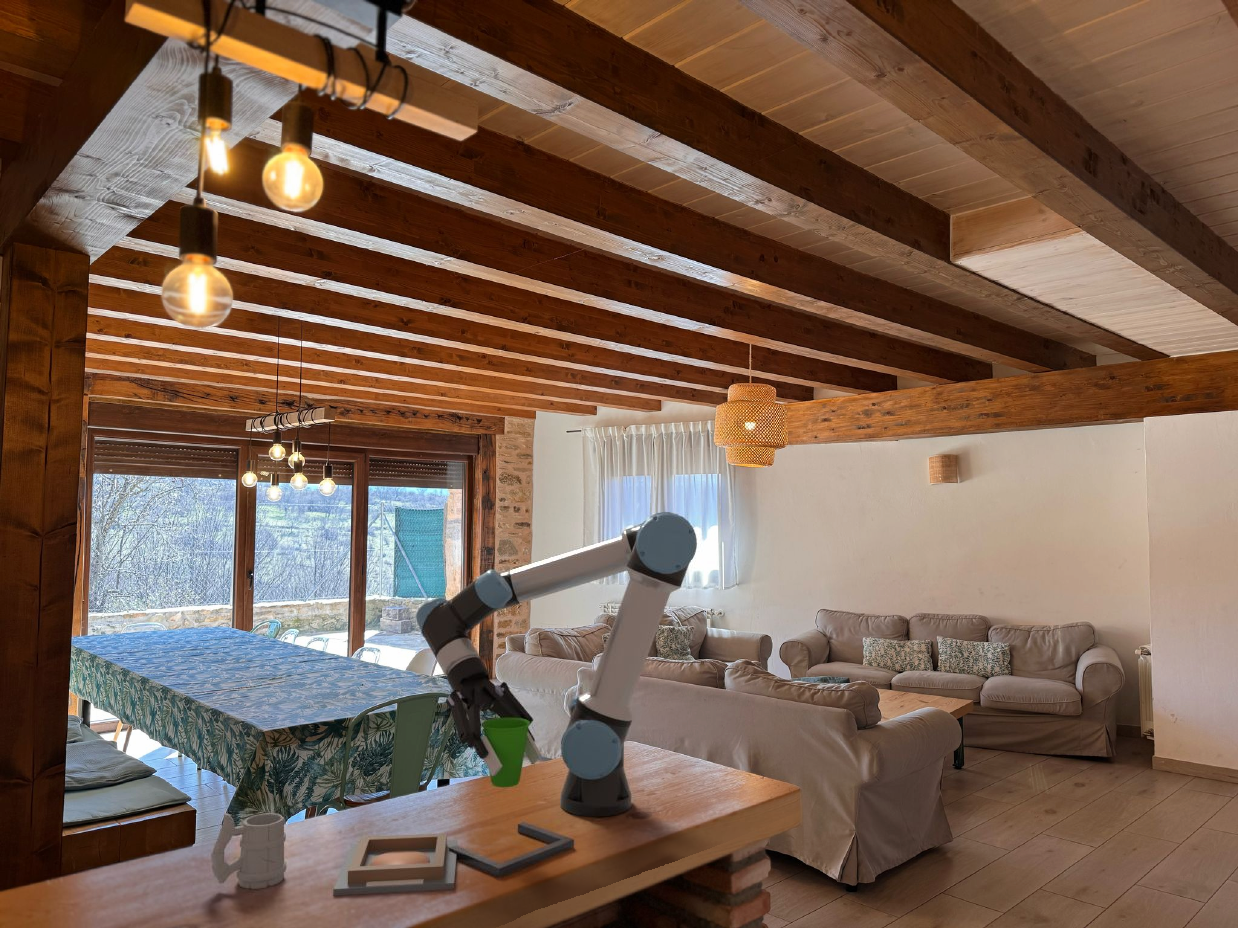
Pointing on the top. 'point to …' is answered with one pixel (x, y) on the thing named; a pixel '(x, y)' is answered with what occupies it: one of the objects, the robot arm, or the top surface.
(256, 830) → the mug
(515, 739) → the cup
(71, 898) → the top surface
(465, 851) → the dark grey u frame
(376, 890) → the socket board
